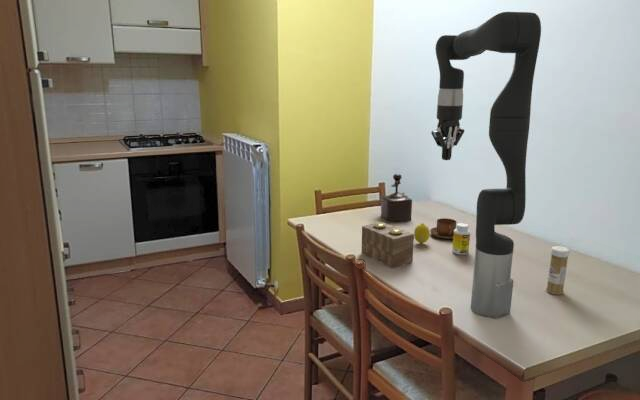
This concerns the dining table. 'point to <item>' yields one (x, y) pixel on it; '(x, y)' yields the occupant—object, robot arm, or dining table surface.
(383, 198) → the manual coffee grinder
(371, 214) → the dining table surface
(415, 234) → the lemon
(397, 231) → the near peg
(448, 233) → the cup and saucer
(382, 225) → the far peg
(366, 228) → the brown wooden block
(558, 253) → the sprinkles bottle
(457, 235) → the supplement bottle
